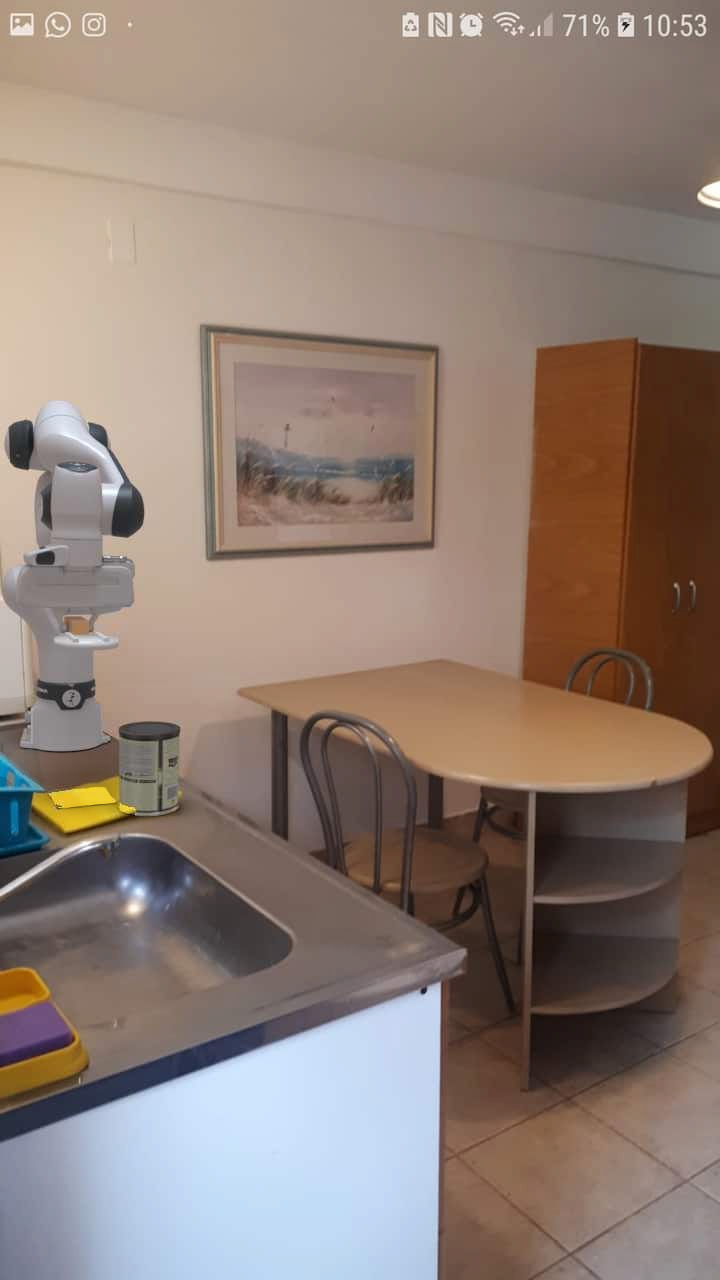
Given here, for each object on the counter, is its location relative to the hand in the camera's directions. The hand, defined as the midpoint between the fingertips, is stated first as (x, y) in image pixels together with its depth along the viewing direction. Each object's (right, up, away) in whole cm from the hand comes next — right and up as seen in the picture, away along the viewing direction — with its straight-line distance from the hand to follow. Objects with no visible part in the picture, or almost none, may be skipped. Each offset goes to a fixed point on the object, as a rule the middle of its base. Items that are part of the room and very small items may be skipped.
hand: (76, 632), depth 170 cm
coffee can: (+14, -30, -6) cm, 34 cm away
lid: (+2, -2, -5) cm, 5 cm away
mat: (+2, -29, -3) cm, 29 cm away
